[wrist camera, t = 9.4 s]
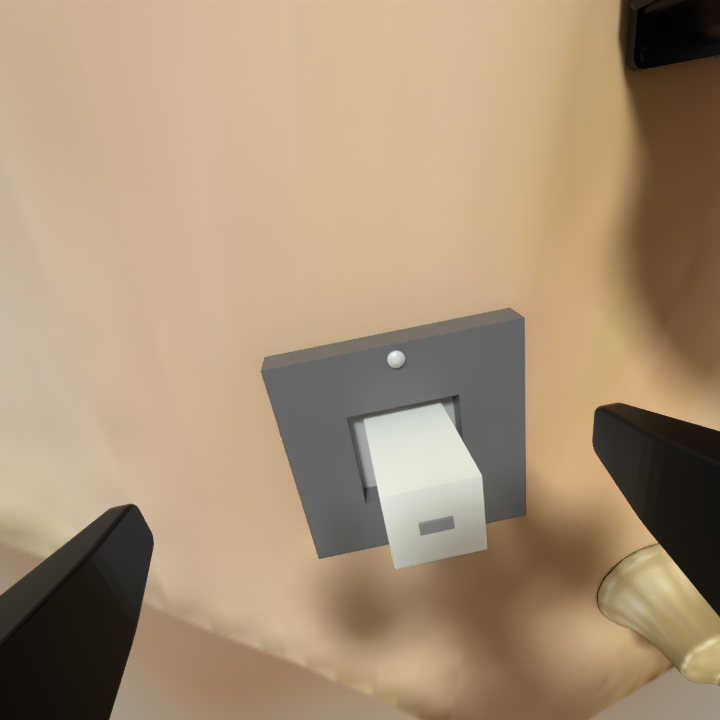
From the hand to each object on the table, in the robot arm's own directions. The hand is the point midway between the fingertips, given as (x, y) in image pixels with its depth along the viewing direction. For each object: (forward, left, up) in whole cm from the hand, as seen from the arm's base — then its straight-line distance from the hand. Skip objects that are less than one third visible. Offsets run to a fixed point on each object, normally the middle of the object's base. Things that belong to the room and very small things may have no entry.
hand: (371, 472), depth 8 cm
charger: (-2, +8, -12) cm, 14 cm away
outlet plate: (-2, +8, -12) cm, 15 cm away
